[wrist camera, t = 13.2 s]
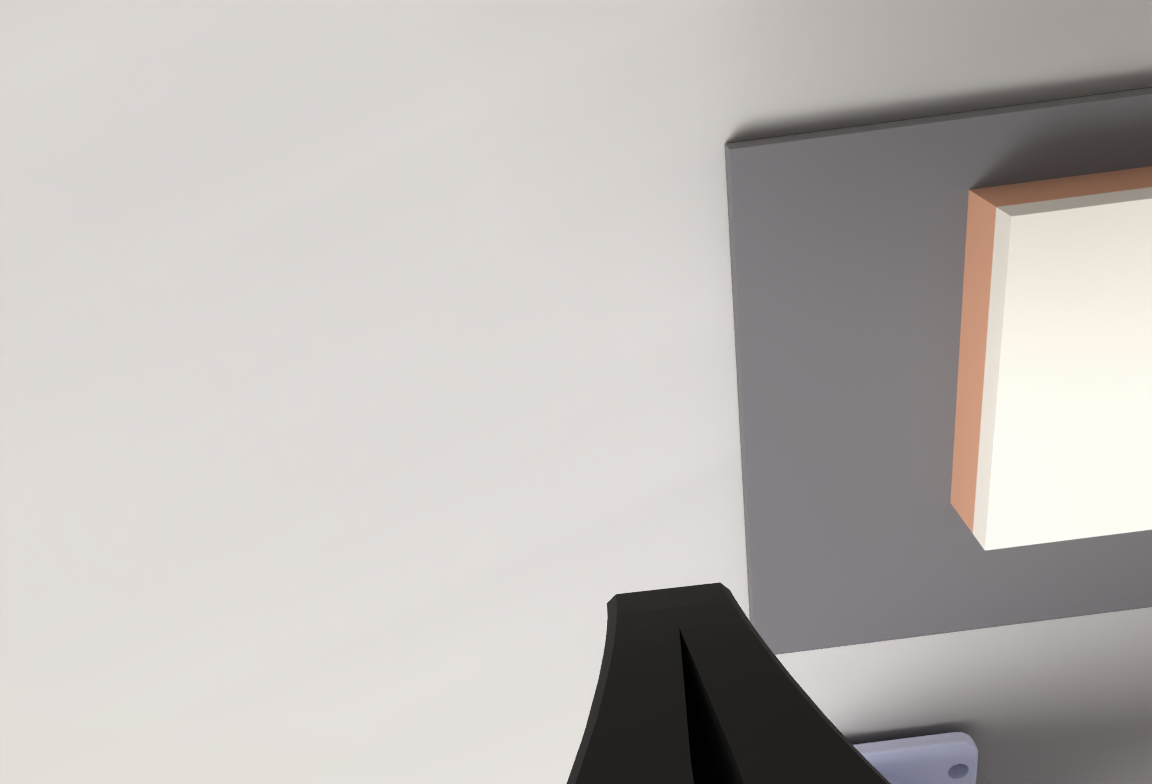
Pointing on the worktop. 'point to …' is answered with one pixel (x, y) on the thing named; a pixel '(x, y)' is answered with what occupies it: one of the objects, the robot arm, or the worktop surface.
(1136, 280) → the tile
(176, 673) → the worktop surface
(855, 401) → the mat
